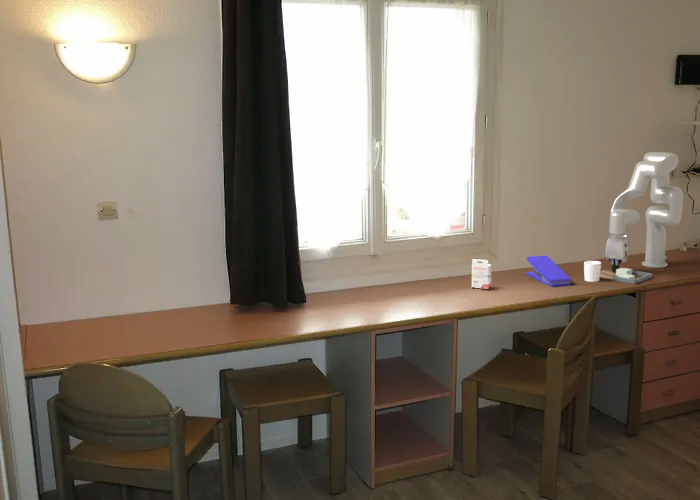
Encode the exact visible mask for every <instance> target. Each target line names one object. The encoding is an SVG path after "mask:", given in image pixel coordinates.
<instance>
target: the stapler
mask: <svg viewBox="0 0 700 500" xmlns="http://www.w3.org/2000/svg"><path fill="white" fill-rule="evenodd" d="M526 260H527V261H528V264H529V265H530V266H531V267H532V268H533V269H534V270H535V271H525V274H526V273H527V274H528V275H527V274H526V275H527V276H529V275H530V276H529V277H531V276H532V277H531V278H533V277H534V278H533V279H535V278H536V279H535V280H537V279H538V280H537V281H539V280H540V281H539V282H541V281H542V282H541V283H543V282H544V283H543V284H545V285H547V286H549V287H551V288H553V287H563V286H565V287H566V286H571V280H572V278H571V277H570V276H569V275H568V274H567V273H566V272H565V271H563V269H561V268H560V267H559V265H558V264H556V263H555V262H554V261H553V260H552V259H551V258H550V257H549V256H548V255H534V256H532V255H531V256H527V257H526Z"/></svg>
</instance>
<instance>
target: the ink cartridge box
mask: <svg viewBox="0 0 700 500" xmlns="http://www.w3.org/2000/svg"><path fill="white" fill-rule="evenodd" d="M480 262H481V263H480ZM472 287H475V288H485V289H489V288H490V287H491V288H492V264H489V260H488V259H479V258H478V259H475V258H473V259H471V288H472ZM491 288H490V289H491ZM490 289H489V290H490Z"/></svg>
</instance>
